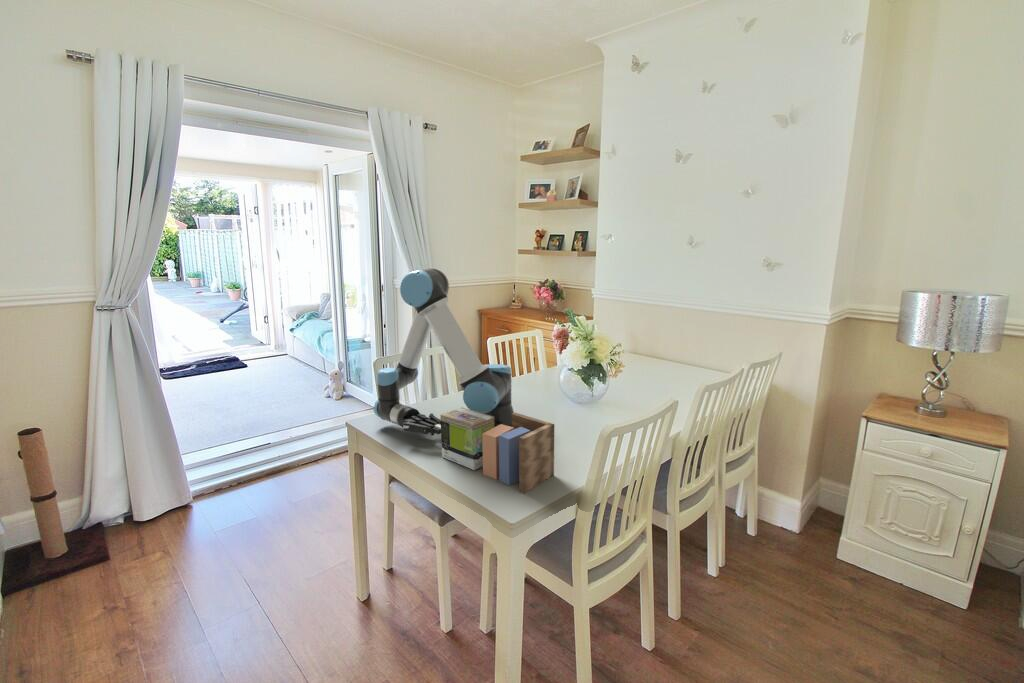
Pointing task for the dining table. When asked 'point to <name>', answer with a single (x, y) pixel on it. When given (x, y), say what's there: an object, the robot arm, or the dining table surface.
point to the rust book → (492, 450)
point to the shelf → (534, 451)
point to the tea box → (464, 436)
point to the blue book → (510, 455)
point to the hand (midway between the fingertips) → (449, 433)
